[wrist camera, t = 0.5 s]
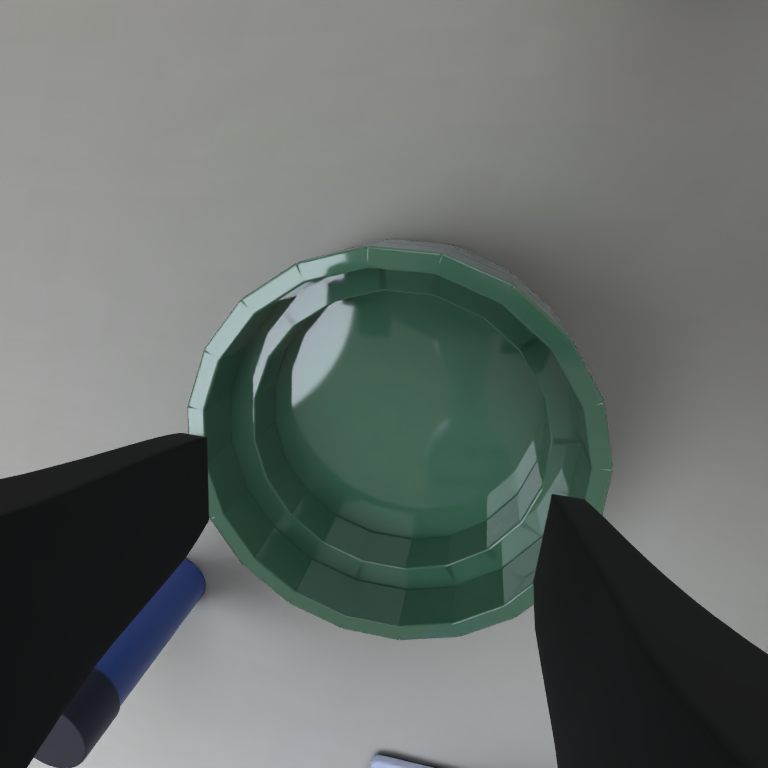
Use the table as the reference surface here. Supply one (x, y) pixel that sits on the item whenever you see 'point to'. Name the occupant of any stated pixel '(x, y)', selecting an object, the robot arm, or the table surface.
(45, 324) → the table surface
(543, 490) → the bowl
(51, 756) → the marker
